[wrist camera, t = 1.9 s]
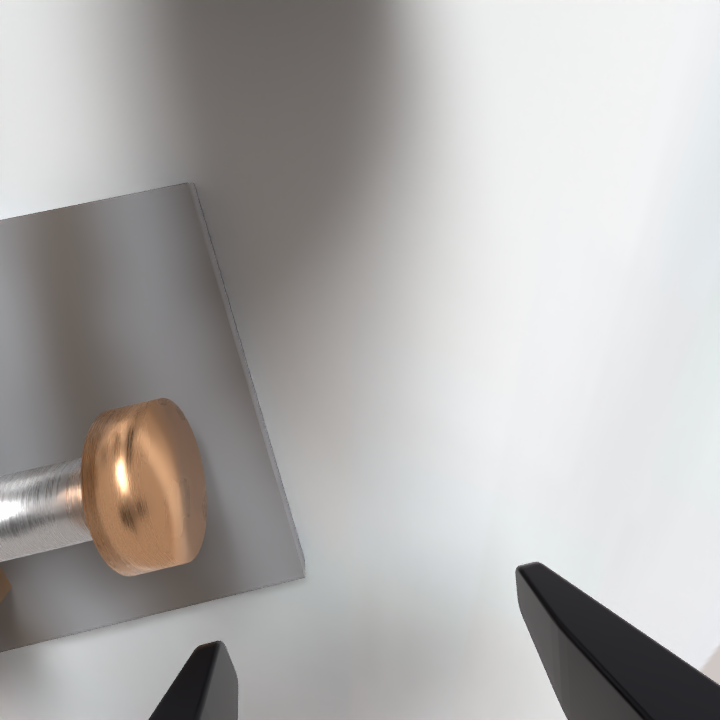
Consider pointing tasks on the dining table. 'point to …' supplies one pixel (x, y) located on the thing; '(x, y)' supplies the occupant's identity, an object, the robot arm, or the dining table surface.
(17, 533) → the shaft
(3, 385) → the wooden block on base
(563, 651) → the robot arm
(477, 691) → the dining table surface
